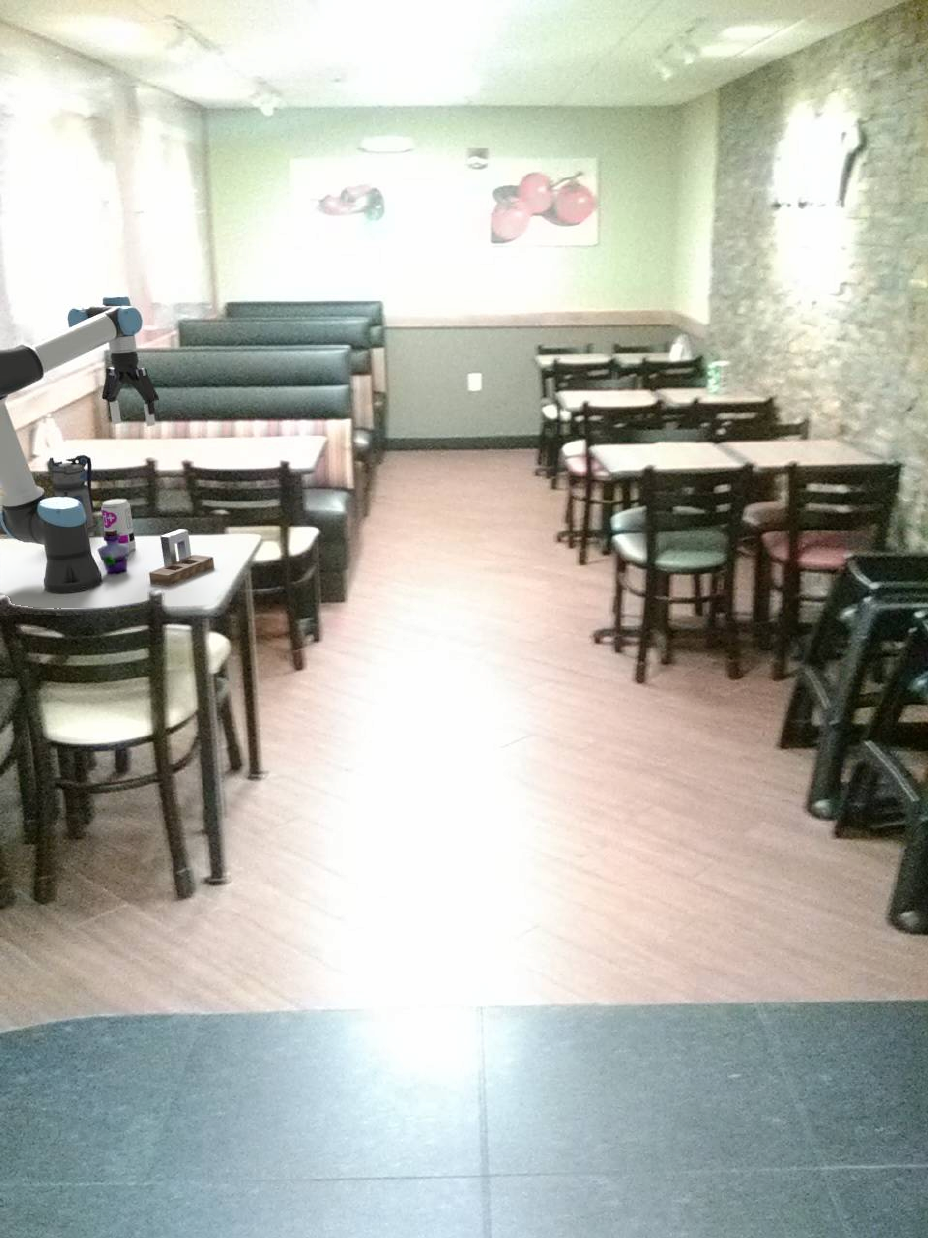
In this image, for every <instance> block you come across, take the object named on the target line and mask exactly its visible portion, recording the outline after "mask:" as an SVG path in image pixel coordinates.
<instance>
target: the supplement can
mask: <svg viewBox="0 0 928 1238" xmlns="http://www.w3.org/2000/svg"><path fill="white" fill-rule="evenodd" d="M100 509H101V516H102V523H103V528H104V529H103V530H104V532H105V531H107V530H117V533H118V534H120V539H119V540H118V544H126V545H128V546H129V553H130V552H133V551H134V550H135V549H136V547H137V546H136V539H135V532H134V525H133V518H132V512H131V504H130V503H129V502H128V499H126V498H114V499H109V500H108V499H107V500H105V501H103V502H102V506H101V508H100ZM105 543H106V544H107V541H105Z"/></svg>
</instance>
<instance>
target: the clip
mask: <svg viewBox="0 0 928 1238" xmlns="http://www.w3.org/2000/svg"><path fill="white" fill-rule="evenodd" d="M189 535H190V534H189V530H188V529H181V528H179V529H176V530H174V531H171V532H168V533H165V534H162V535H160V536H159V537H160V544H161V550H162V551H161V552H162V557H163V558H162V559H163V567H164V566H167V565H170V564H172V563H175V562H177V554H178V561H180V560H182V559H185V558H187V557H190V556H192V551H191V543H190V542H191V541H190V536H189ZM175 545H176V546H175ZM176 547H177V553H176Z"/></svg>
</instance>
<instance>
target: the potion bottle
mask: <svg viewBox="0 0 928 1238" xmlns="http://www.w3.org/2000/svg"><path fill="white" fill-rule="evenodd" d="M102 538H103V541H105V542H106V541H107V543H106V544H105V545H102V546H101V547H99V548H97V552H98V554H99V557H100V560H101V561H102V562H103V565H104V566H105V567H104V568H105V570H106V573H107V574H108V575H118V574H124V573H125V572H127V571H128V570H127V569H128V568H127V567H128V557H129V555H130V554H129V553H130V552H129V546H128V545H126V544H118V540H119V539H120V534H118V533H117V530H107V531H105V530H104V534H103V536H102Z"/></svg>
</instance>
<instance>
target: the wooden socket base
mask: <svg viewBox="0 0 928 1238" xmlns="http://www.w3.org/2000/svg"><path fill="white" fill-rule="evenodd" d="M214 568H215V561H214V556H213V557H212V556H206V555H199V554H198V555H197V554H193V555H192V554H191V556H190V557H187V558H185V559H182V560H180V561H179V560H178V561H177V562H175V563H172V564H170V565H167V566H164V565H163V566H162V567H160V568H157V569H155V570H152V571H150V572H148V575H149V583H150V584H152V585H153V584H155V585H159V586H167V587H171V586H173V585H176V584H178V583H181V582H183V581H186V580H187V579H190V578H192V576H193V577H194V576H195V577H196V576H197V575H200V574H203V573H205V572H207V571H210V570H212V569H214ZM182 580H183V581H182ZM180 581H181V582H180ZM175 583H176V584H175ZM170 585H171V586H170Z"/></svg>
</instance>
